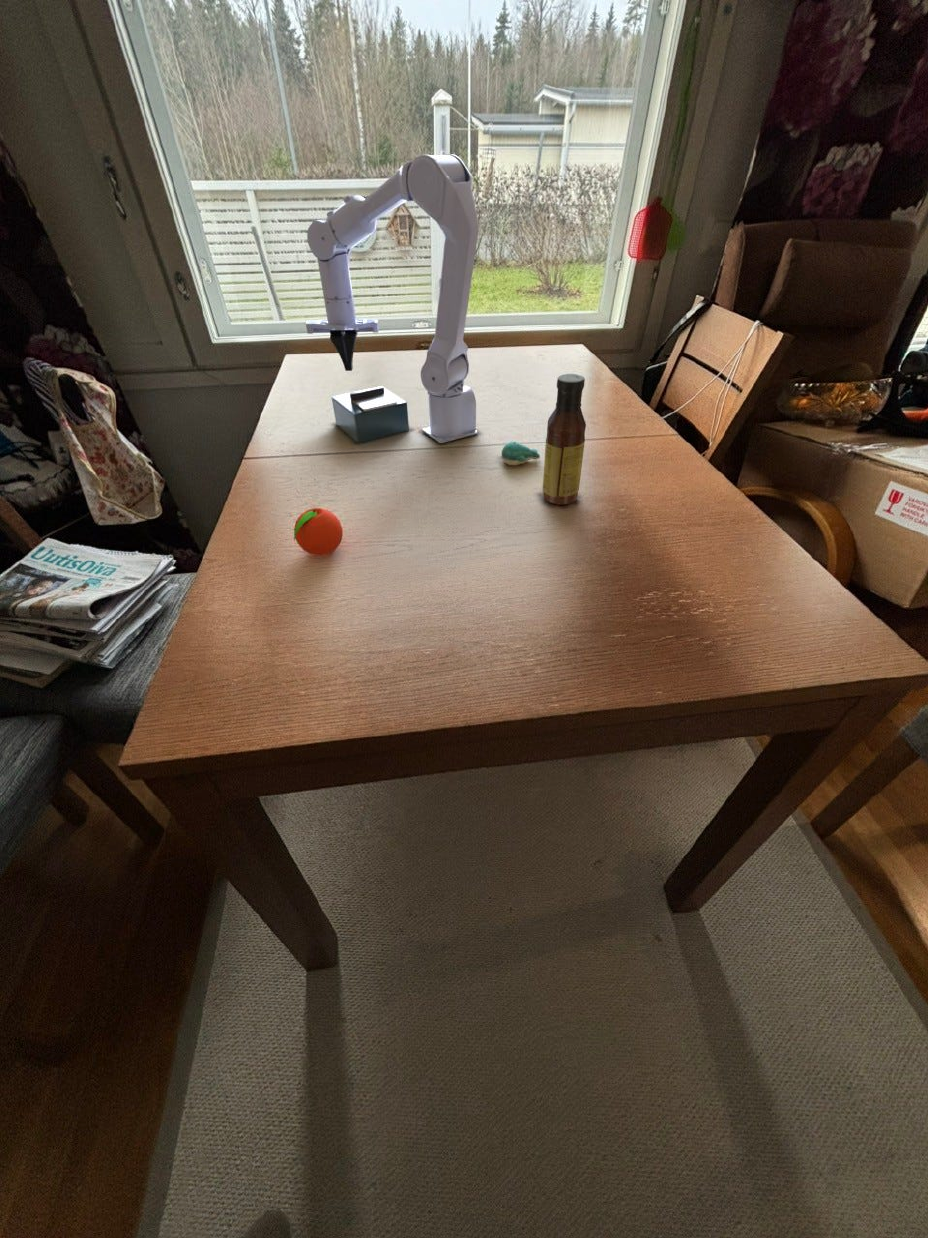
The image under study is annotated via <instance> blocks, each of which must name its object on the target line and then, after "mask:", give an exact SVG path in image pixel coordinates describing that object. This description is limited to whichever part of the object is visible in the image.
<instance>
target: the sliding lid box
mask: <svg viewBox="0 0 928 1238" xmlns="http://www.w3.org/2000/svg"><path fill="white" fill-rule="evenodd" d="M377 387H378V386H376V387H374V388H377ZM379 387H383V386H382V385H380V386H379ZM372 388H373V387H370V388H369V389H372ZM367 389H368V388H365V389H362V390H360V391H363V390H367ZM358 391H359V390H357V391H356V390H355V392H358ZM353 392H354V391H352V392H347V393H342V394H337V395H331V401H332V407H333V408H332V409H333V413H334V419H335V425H337V426H338V427H339V428H340V429H341V430H343V432H345V433H346V434H347V435H348V436H349V437H350V438H351V439H353V440H354V441H355V442H356V443H358V444H361V443H365V442H368V441H373V440H377V439H380V438H385V437H388V436H392V435H396V434H400V433H404V432H408V431H410V424H409V423H410V422H409V412H408V411H409V410H408V402H407V401H405V400H404V399H403V398H401V397H399V396H398V395H397V394H395V393H393V392H392V391H390V390H389V389H387V388H386V387H384V393H385V394H386V395H388V396H389V397H391V398H392V399H394V400H395V401H397V404H395V405H391V406H386V407H382V408H377V409H373V410H369V411H363V410H361V409H360V408H359V407H357V406H356V405H355V404H353V403H352V402H351V401H350V394H349V393H353Z"/></svg>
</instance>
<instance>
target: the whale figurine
mask: <svg viewBox="0 0 928 1238" xmlns="http://www.w3.org/2000/svg"><path fill="white" fill-rule="evenodd" d="M540 458H541V455H540V454H539V452H538V450H537V449H535V448H533V449H531V448H529V447H527V446H526V445H524V444H521V443H519V442H516V441H509V442H507V443H506V444H505V445H504V446H503V448H502V450H501V460H502V461H503V462H504V463H505V464H506V465H509V466H518V465H521V464H522V465H523V464H525V463H527V462H529V461H530V460H539V459H540Z"/></svg>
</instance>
